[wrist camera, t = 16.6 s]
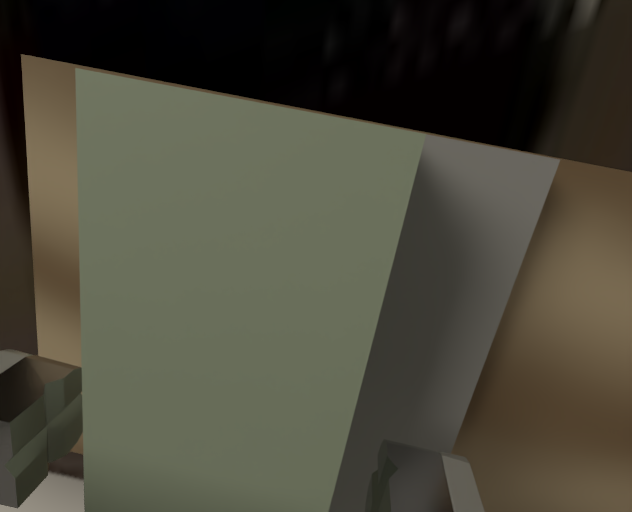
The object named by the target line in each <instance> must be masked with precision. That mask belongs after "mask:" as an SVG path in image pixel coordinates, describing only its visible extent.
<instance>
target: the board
mask: <svg viewBox="0 0 632 512" xmlns="http://www.w3.org/2000/svg"><path fill="white" fill-rule="evenodd" d="M21 60H22V77H23V95H24V112H25V129H26V147H27V164H28V181H29V199H30V216H31V233H32V251H33V268H34V285H35V303H36V320H37V338H38V355H39V356H41V357H45V358H48V359H52V360H56V361H60V362H63V363H67V364H71V365H75V366H78V367H82V363H81V316H80V268H79V221H78V174H77V127H76V79H75V68H79V69H84V70H89V71H94V72H100V73H105V74H110V75H116V76H121V77H126V78H132V79H137V80H142V81H148V82H153V83H158V84H163V85H169V86H174V87H179V88H185V89H190V90H195V91H201V92H206V93H211V94H216V95H222V96H227V97H232V98H238V99H243V100H248V101H254V102H259V103H264V104H269V105H275V106H280V107H285V108H291V109H296V110H301V111H307V112H312V113H317V114H323V115H328V116H333V117H338V118H344V119H349V120H354V121H360V122H365V123H370V124H376V125H381V126H386V127H391V128H397V129H402V130H407V131H413V132H418V133H423V134H427V135H432V136H438V137H443V138H448V139H454V140H459V141H464V142H469V143H475V144H480V145H485V146H491V147H496V148H501V149H507V150H512V151H517V152H523V153H528V154H533V155H538V156H544V157H549V158H554V159H560V162H559V165H558V168H557V170H556V173H555V176H554V178H553V181H552V184H551V186H550V189H549V192H548V194H547V197H546V200H545V202H544V205H543V208H542V210H541V213H540V216H539V218H538V221H537V224H536V226H535V229H534V232H533V234H532V237H531V240H530V243H529V245H528V248H527V251H526V253H525V256H524V259H523V261H522V264H521V267H520V269H519V272H518V275H517V277H516V280H515V283H514V285H513V288H512V291H511V293H510V296H509V299H508V301H507V304H506V307H505V309H504V312H503V315H502V317H501V320H500V323H499V326H498V328H497V331H496V334H495V336H494V339H493V342H492V344H491V347H490V350H489V352H488V355H487V358H486V360H485V363H484V366H483V368H482V371H481V374H480V376H479V379H478V382H477V384H476V387H475V390H474V392H473V395H472V398H471V401H470V403H469V406H468V409H467V411H466V414H465V417H464V419H463V422H462V425H461V427H460V430H459V433H458V435H457V438H456V441H455V443H454V446H453V449H452V451H451V454H454V455H459V456H463V457H466V458H467V460H468V461H469V462H470V465H471V468H472V472H473V475H474V478H475V481H476V485H477V488H478V491H479V494H480V497H481V501H482V504H483V507H484V510H485V512H632V172H628V171H623V170H617V169H612V168H607V167H602V166H597V165H592V164H586V163H581V162H576V161H571V160H566V159H561V158H555V157H550V156H545V155H540V154H535V153H530V152H524V151H519V150H514V149H509V148H504V147H498V146H493V145H488V144H483V143H478V142H473V141H467V140H462V139H457V138H452V137H447V136H442V135H436V134H431V133H426V132H421V131H416V130H411V129H405V128H400V127H395V126H390V125H385V124H380V123H374V122H369V121H364V120H359V119H354V118H349V117H343V116H338V115H333V114H328V113H323V112H318V111H312V110H307V109H302V108H297V107H292V106H287V105H281V104H276V103H271V102H266V101H261V100H256V99H250V98H245V97H240V96H235V95H230V94H225V93H219V92H214V91H209V90H204V89H199V88H194V87H188V86H183V85H178V84H173V83H168V82H163V81H157V80H152V79H147V78H142V77H137V76H132V75H126V74H121V73H116V72H111V71H106V70H100V69H95V68H90V67H85V66H80V65H75V64H69V63H64V62H59V61H54V60H49V59H44V58H38V57H33V56H28V55H23V54H21ZM81 394H82V392H81ZM70 451H72V452H76V453H80V454H83V432H82V434H81V436H80V438H79V440H78V442H77V443H76V444H75V445H74V447H73V448H72V449H71V450H70Z"/></svg>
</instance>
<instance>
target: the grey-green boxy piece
mask: <svg viewBox="0 0 632 512" xmlns="http://www.w3.org/2000/svg"><path fill="white" fill-rule="evenodd" d="M75 79H76V127H77V174H78V221H79V268H80V316H81V363H82V410H83V457H84V505H85V512H365V503H366V497H367V492H368V486H369V483H370V479H371V475H372V473H373V472H375V471H376V470H378V452H379V449H380V446H381V443H382V442H383V440H384V439H386V440H390V441H394V442H399V443H403V444H408V445H412V446H416V447H421V448H425V449H429V450H434V451H436V452H438V451H440V452H445V453H450V454H451V451H452V449H453V446H454V443H455V441H456V438H457V435H458V433H459V430H460V427H461V425H462V422H463V419H464V417H465V414H466V411H467V409H468V406H469V403H470V401H471V398H472V395H473V392H474V390H475V387H476V384H477V382H478V379H479V376H480V374H481V371H482V368H483V366H484V363H485V360H486V358H487V355H488V352H489V350H490V347H491V344H492V342H493V339H494V336H495V334H496V331H497V328H498V326H499V323H500V320H501V317H502V315H503V312H504V309H505V307H506V304H507V301H508V299H509V296H510V293H511V291H512V288H513V285H514V283H515V280H516V277H517V275H518V272H519V269H520V267H521V264H522V261H523V259H524V256H525V253H526V251H527V248H528V245H529V243H530V240H531V237H532V234H533V232H534V229H535V226H536V224H537V221H538V218H539V216H540V213H541V210H542V208H543V205H544V202H545V200H546V197H547V194H548V192H549V189H550V186H551V184H552V181H553V178H554V176H555V173H556V170H557V168H558V165H559V162H560V159H554V158H549V157H544V156H538V155H533V154H528V153H523V152H517V151H512V150H507V149H501V148H496V147H491V146H485V145H480V144H475V143H469V142H464V141H459V140H454V139H448V138H443V137H438V136H432V135H427V134H423V133H418V132H413V131H407V130H402V129H397V128H391V127H386V126H381V125H376V124H370V123H365V122H360V121H354V120H349V119H344V118H338V117H333V116H328V115H323V114H317V113H312V112H307V111H301V110H296V109H291V108H285V107H280V106H275V105H269V104H264V103H259V102H254V101H248V100H243V99H238V98H232V97H227V96H222V95H216V94H211V93H206V92H201V91H195V90H190V89H185V88H179V87H174V86H169V85H163V84H158V83H153V82H148V81H142V80H137V79H132V78H126V77H121V76H116V75H110V74H105V73H100V72H94V71H89V70H84V69H79V68H75Z"/></svg>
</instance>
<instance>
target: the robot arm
mask: <svg viewBox="0 0 632 512" xmlns="http://www.w3.org/2000/svg"><path fill="white" fill-rule="evenodd" d="M81 392H82V367H78V366H75V365H71V364H67V363H63V362H60V361H56V360H52V359H48V358H45V357H41V356H37V355H31V354H27V353H23V352H20V351H16V350H12V349H9V350H3V351H0V504H1V505H5V506H10V507H15V508H18V507H19V506H20V505H21V504H22V503H23V502H24V501H25V500H26V498H27V497H28V496H29V495H30V494H31V493H32V492H33V491H34V490H35V489H36V488H37V487H38V485H39V484H40V483H41V482H42V481H43V480H44V479H45V478H46V477H47V476H48V469H49V463H50V462H52V461H54V460H57V459H59V458H61V457H63V456H65V455H67V453H68V452H69V451H70V450H71V449H72V448H73V447H74V445H75V444H76V443H77V442H78V440H79V438H80V436H81V434H82V432H83V410H82V394H81ZM365 512H485V510H484V507H483V504H482V501H481V497H480V494H479V491H478V488H477V485H476V481H475V478H474V475H473V472H472V468H471V465H470V462H469V461H468V460H467V458H466V457H463V456H459V455H454V454H450V453H445V452H440V451H438V452H436V451H434V450H429V449H425V448H421V447H416V446H412V445H408V444H403V443H399V442H394V441H390V440H386V439H384V440H383V442H382V443H381V446H380V449H379V452H378V470H376V471H375V472H373V473H372V475H371V479H370V483H369V486H368V492H367V497H366V503H365Z"/></svg>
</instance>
